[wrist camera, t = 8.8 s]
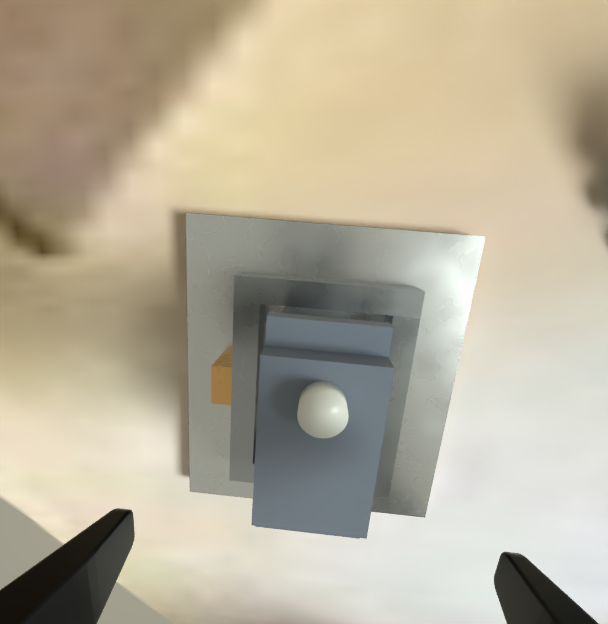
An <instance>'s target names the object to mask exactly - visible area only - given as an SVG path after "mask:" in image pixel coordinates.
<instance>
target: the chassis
mask: <svg viewBox="0 0 608 624" xmlns="http://www.w3.org/2000/svg"><path fill="white" fill-rule="evenodd" d="M484 241H485V237H484V236H472V235H459V234H446V233H434V232H421V231H409V230H396V229H383V228H371V227H358V226H346V225H333V224H320V223H308V222H295V221H283V220H270V219H257V218H245V217H232V216H220V215H207V214H194V213H186V264H187V333H188V402H189V471H190V492H199V493H208V494H217V495H226V496H235V497H244V498H253V488H254V468H255V448H256V429H257V409H258V389H259V369H260V354H261V352H262V351H263V349H264V347H265V338H266V319H267V315H268V313H269V312H277V313H288V314H299V315H310V316H320V317H331V318H342V319H353V320H364V321H374V322H385V323H390V324H391V325H392V326H393V334H392V340H391V347H390V353H389V359H390V360H391V362H392V364H393V366H394V367H395V370H394V376H393V382H392V388H391V394H390V400H389V406H388V412H387V418H386V424H385V430H384V436H383V442H382V448H381V454H380V460H379V466H378V472H377V478H376V484H375V490H374V496H373V502H372V508H371V512H380V513H389V514H399V515H408V516H417V517H425V515H426V510H427V505H428V501H429V496H430V491H431V487H432V482H433V478H434V473H435V468H436V464H437V459H438V454H439V450H440V445H441V441H442V436H443V431H444V427H445V422H446V417H447V413H448V408H449V404H450V399H451V394H452V390H453V385H454V380H455V376H456V371H457V366H458V362H459V357H460V353H461V348H462V343H463V339H464V334H465V329H466V325H467V320H468V316H469V311H470V306H471V302H472V297H473V292H474V288H475V283H476V279H477V274H478V269H479V265H480V260H481V255H482V251H483V246H484Z"/></svg>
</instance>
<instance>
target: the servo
mask: <svg viewBox="0 0 608 624" xmlns="http://www.w3.org/2000/svg"><path fill="white" fill-rule="evenodd" d="M392 334H393V326H392V325H391V324H390V323H385V322H374V321H364V320H353V319H342V318H331V317H320V316H310V315H299V314H288V313H277V312H269V313H268V315H267V319H266V338H265V347H264V349H263V351H262V352H261V354H260V369H259V389H258V409H257V429H256V448H255V468H254V488H253V508H252V525H255V526H256V527H265V528H274V529H282V530H291V531H299V532H308V533H317V534H325V535H334V536H343V537H351V538H367V532H368V526H369V520H370V514H371V508H372V502H373V496H374V490H375V484H376V478H377V472H378V466H379V460H380V454H381V448H382V442H383V436H384V430H385V424H386V418H387V412H388V406H389V400H390V394H391V388H392V382H393V376H394V370H395V367H394V366H393V364H392V362H391V360H390V359H389V353H390V347H391V340H392Z"/></svg>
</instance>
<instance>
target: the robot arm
mask: <svg viewBox="0 0 608 624" xmlns="http://www.w3.org/2000/svg"><path fill="white" fill-rule="evenodd" d="M134 535H135V534H134V520H133V512H132V511H131V510H128V509H119V508H118V509H114V510H112V511H110V512H109V513H107V514H106V515H105V516H103V517H102V518H100V519H99V520H98V521H96V522H95V523H93V524H92V525H91V526H89V527H88V528H86V529H85V530H84V531H82V532H81V533H79V534H78V535H77V536H75V537H74V538H72V539H71V540H70V541H68V542H67V543H65V544H64V545H63V546H61V547H60V548H58V549H57V550H56V551H54V552H53V553H52V554H50V555H49V556H47V557H46V558H44V559H43V560H42V561H40V562H39V563H37V564H36V565H35V566H33V567H32V568H30V569H29V570H28V571H26V572H25V573H24V574H22V575H21V576H19V577H18V578H16V579H15V580H14V581H12V582H11V583H9V584H8V585H7V586H5V587H4V588H2V589H1V590H0V624H97V622H98V619H99V617H100V615H101V613H102V611H103V609H104V607H105V605H106V602H107V600H108V598H109V596H110V594H111V591H112V589H113V587H114V585H115V583H116V580H117V578H118V576H119V574H120V572H121V570H122V567H123V565H124V563H125V561H126V559H127V556H128V554H129V552H130V550H131V548H132V545H133V542H134ZM494 585H495V589H496V592H497V595H498V598H499V601H500V604H501V607H502V610H503V613H504V616H505V619H506V622H507V624H598V623H597V622H596V621H595V620H594V619H593V618H592V617H591V616H590V615H589V614H587V613H586V612H585V611H584V610H583V609H582V608H581V607H580V606H579V605H578V604H576V603H575V602H574V601H573V600H572V599H571V598H570V597H569V596H568V595H567V594H565V593H564V592H563V591H562V590H561V589H560V588H559V587H558V586H557V585H556V584H554V583H553V582H552V581H551V580H550V579H549V578H548V577H547V576H546V575H545V574H543V573H542V572H541V571H540V570H539V569H538V568H537V567H536V566H535V565H534V564H532V563H531V562H530V561H529V560H528V559H527V558H526V557H524V556H523V555H521V554H519V553H511V552H503V553H502V554H501V556H500V559H499V562H498V565H497V569H496V572H495V575H494Z"/></svg>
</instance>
